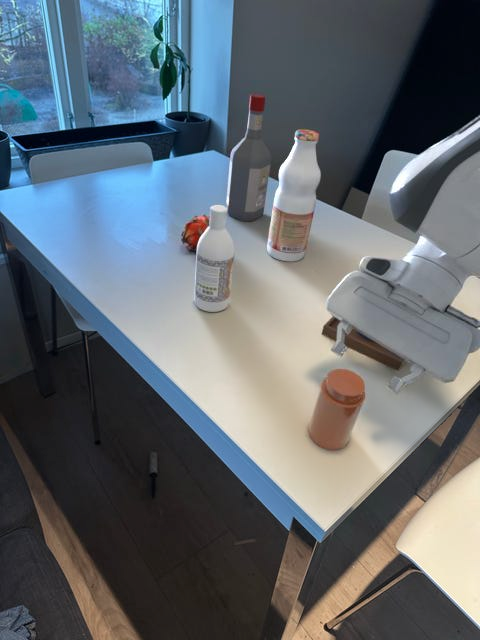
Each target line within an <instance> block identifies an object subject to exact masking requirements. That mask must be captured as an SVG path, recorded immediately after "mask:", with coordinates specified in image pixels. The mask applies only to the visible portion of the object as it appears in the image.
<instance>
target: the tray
mask: <svg viewBox="0 0 480 640" xmlns="http://www.w3.org/2000/svg"><path fill="white" fill-rule="evenodd" d="M340 322H341V321H340V320H338V319H337V318H335V317H333V316H331V318H329V320H328V321H326V323H325V324H323V327H322V331H321V335H323V336H325V337H327V338H329V339H331V340H333V341H334V342H336V341H337V327H338V325H339V323H340ZM344 344H345V345H346V346H347V347H348V348H350V349H352V350H354V351H356V352H358V353H359V354H362V355H364V356H367V357H368V358H370V359H372V360H374V361H377V362H379V363H381V364H382V365H385V366H387V367H389V368H390V369H393V370H395V371H397V372H400V369H402V367H403V365H404V363H405V362H406V360H405V359H403V358H401V357H400V356H398V355H396V354H395V353H393V352H391V351H390V350H388V349H386V348H385V347H383V346H381V345H380V344H378V343H376V342H371V341H368V340H366V339H364V338H363V337H361V336H360V335H359V334H358V332H357V331H356V330H355V329H352V330H351V332H350V333H349V334H347V333H346V332H345V339H344Z"/></svg>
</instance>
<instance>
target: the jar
mask: <svg viewBox="0 0 480 640" xmlns="http://www.w3.org/2000/svg"><path fill="white" fill-rule="evenodd" d="M326 375H327V376H326V377H325V378H324V379H323V380H322V382H321V384H320V388H319V390H318V395H317V397H316V401H315V405H314V407H313V411H312V414H311V417H310V421H309V424H308V429H307V430H308V434H309V437H310V438H311V440H312V441H313V443H315V444H316V445H317V446H319V447H321V448H323V449H325V450H330V451H336V450H341V449H343V448H345V447H346V446H347V444H348V443H349V441H350V437H351V436H352V433H353V431H354V428H355V425H356V423H357V421H358V418H359V415H360V413H361V410H362V407H363V405H364V403H365V400H366V391H365V390H366V383H365V382H364V379H363V378H362V377H361V376H360V375H359V374H358V373H356V372H355V371H353V370H350V369H347V368H336V369H333V370H330V371H329V372H328V373H327V374H326Z"/></svg>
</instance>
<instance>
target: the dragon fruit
mask: <svg viewBox="0 0 480 640" xmlns="http://www.w3.org/2000/svg"><path fill="white" fill-rule="evenodd" d="M209 224H210V215H206V214H205V213H202V216H198V215H194V216H193V217H192V218H191V219H190V220H189V221H187V222H186V223H185V224H184V226H183V231H182V233H181V235H180V237H181V238H180V241H181V242H182V244H183V245H184V244H187V245H186V246H185V249H186V250H190V251H197V245H198V242H199V239H200V237H201V236H202V234H203V233H204V232H205V231H206V229H207V228H208V227H209Z"/></svg>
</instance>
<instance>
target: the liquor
mask: <svg viewBox="0 0 480 640" xmlns="http://www.w3.org/2000/svg"><path fill="white" fill-rule="evenodd" d="M265 104H266V95H263V94H256V93H252V94H250V95H249V103H248V117H247V118H248V119H247V127H246V132H245V135H244V136H243V137H244V138H242V139H241V140H240V141H239V142H238V143H237V144H236V145H235V146H234V147H233V148H232V150H231V152H230V157H229V168H228V179H227V189H226V191H227V192H226V200H225V201H226V202H225V207H226V208H227V214H228V216H229V217H231V218H234V219H237V220H239V221H243V222H254V221H256V220H257V219H258V218H261V217H262V216H263V214H264V212H265V205H266V198H267V191H268V184H269V178H270V172H271V171H270V170H271V163H272V154H271V151H270V150H269V149H268V147H267V146H266V144H265V143H264V140H263V139H262V125H263V116H264V111H265Z"/></svg>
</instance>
